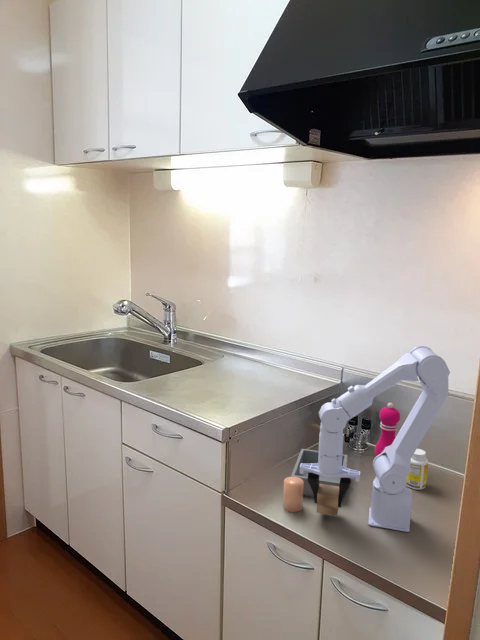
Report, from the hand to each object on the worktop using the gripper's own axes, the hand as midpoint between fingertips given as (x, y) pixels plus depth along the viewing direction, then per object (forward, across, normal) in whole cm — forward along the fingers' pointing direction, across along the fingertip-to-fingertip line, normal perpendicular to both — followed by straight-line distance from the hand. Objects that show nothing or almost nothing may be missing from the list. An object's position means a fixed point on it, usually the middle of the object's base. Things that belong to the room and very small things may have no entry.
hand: (328, 503), depth 124 cm
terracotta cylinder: (+4, +9, -2) cm, 10 cm away
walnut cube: (+2, 0, 0) cm, 2 cm away
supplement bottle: (+4, -22, -23) cm, 32 cm away
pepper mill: (+4, -14, -33) cm, 36 cm away
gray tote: (+4, +4, -17) cm, 18 cm away
